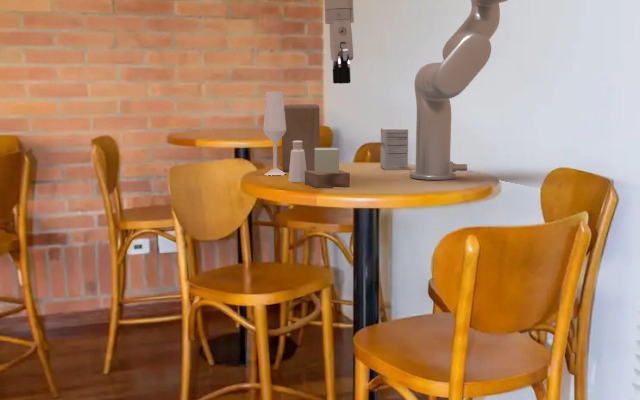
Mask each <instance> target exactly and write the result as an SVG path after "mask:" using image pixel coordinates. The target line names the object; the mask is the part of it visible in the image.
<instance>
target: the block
mask: <svg viewBox="0 0 640 400" xmlns="http://www.w3.org/2000/svg"><path fill="white" fill-rule="evenodd" d="M284 111H285V121H286V132H285V134H284V135H283V136H282V137H281V168H282V169H281V170H282V171H283V170H284V171H283V172H289V167H290V156H291V151H292V150H293V143H292V142H293V141H303V144H302V146H303V147H302V150H304V152H305V161H306V170H307V171H312V170H315V148H321V146H320V143H321V142H320V132H321V131H320V106H319V104H315V103H313V104H312V103H299V104H298V103H296V104H295V103H290V104H284Z"/></svg>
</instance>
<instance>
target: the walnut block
mask: <svg viewBox="0 0 640 400" xmlns="http://www.w3.org/2000/svg"><path fill="white" fill-rule="evenodd" d="M305 184H306V185H305ZM304 185H305V186H308V185H309V186H308V187H310V186H312V187H311V188H313V187H315V188H314V189H316V188H326V189H334V188H333V187H343V188H350V187H351V173H350V172H347V171H343V170H340V169H339V173H315V170H312V171H305V182H304Z"/></svg>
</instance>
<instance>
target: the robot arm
mask: <svg viewBox="0 0 640 400" xmlns="http://www.w3.org/2000/svg"><path fill="white" fill-rule="evenodd" d="M323 1H324V5H323V6H324V24H326V25H329V45H330V46H329V48H330V49H329V50H330V58H331V59H330V60H331V61H332V84H341V85H342V84H350V83H351V67H350V64H351V63H350V61H352V60H353V59H354V44H353V32H352V31H353V30H352V25H351V24H352V23H354V22H355V21H354V0H323ZM470 1H471V10H470V13H469V15H468V17H467V18H466V19H465V20H464V22H462V24H461V26H459V27H458V29H457V30H456V31H455V32H454V33H453V35H451V36H450V38H449V39H448V40H447V41H446V42H445V44H444V46H443V48H442V58H443V61H442V62H431V63H428V64H425V65H424V66H422V67H421V68H420V69H419V70H418V71H417V73H416V75H415V79H414V94H415V101H416V126H415V127H416V130H415V131H416V132H415V134H416V135H415V136H416V137H415V171H411V172H410V173H409V177H410V178H412V179H415V180H429V181H439V180H440V181H443V180H452V179H455V178H456V172H458V171H460V172H467V171H468V164H466V163H456V162H455V163H454V162H453V161H451V144H452V143H451V140H452V139H451V137H452V135H451V133H452V106H451V100H450V99H453V98H455V97H457V96H459V95H460V94H461V93H462V92H463V91H464V90H465V89H466V88H467V87H468V86H469V85H470V83H471V82H472V81H473V80H474V79H475V78H476V77H477V75H478V74H479V73H480V72H481V70H482V69H484V68H485V66H486V65H487V62H489V59H490V57H491V53H492V44H491V41H490V39H491V38H492V37H493V36H494V35H495V33H496V31H497V29H498V28H499V25H500V20H501V19H500V17H501V13H500V9H501V8H500V3H504V2H507V1H508V0H470Z"/></svg>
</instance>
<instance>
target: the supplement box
mask: <svg viewBox="0 0 640 400" xmlns="http://www.w3.org/2000/svg"><path fill="white" fill-rule="evenodd" d="M408 152H409V129H408V128H404V127H400V126H399V127H380V164H379V165H380V168H382V169H384V170H385V171H395V170H396V171H398V170H399V171H405V170H408V168H409V165H408V164H409V163H408V162H409V159H408V156H409V153H408Z"/></svg>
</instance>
